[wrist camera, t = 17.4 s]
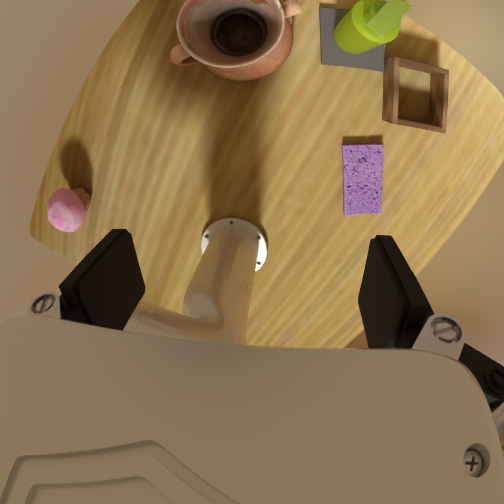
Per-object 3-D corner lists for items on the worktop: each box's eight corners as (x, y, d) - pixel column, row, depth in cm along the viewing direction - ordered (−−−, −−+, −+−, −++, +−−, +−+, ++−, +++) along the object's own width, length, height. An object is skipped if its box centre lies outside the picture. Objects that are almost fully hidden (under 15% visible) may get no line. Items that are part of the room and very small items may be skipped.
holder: (431, 128, 39) (445, 133, 35) (382, 119, 40) (392, 123, 36) (434, 70, 33) (448, 70, 29) (383, 58, 34) (394, 56, 30)
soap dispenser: (321, 42, 34) (348, 9, 17) (347, 14, 31) (387, -29, 14) (352, 65, 35) (400, 52, 18) (377, 37, 32) (435, 12, 15)
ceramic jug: (279, -12, 30) (276, -48, 18) (313, 63, 37) (325, 51, 25) (175, 28, 35) (134, 11, 23) (206, 100, 42) (175, 105, 30)
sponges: (380, 142, 43) (383, 144, 41) (379, 210, 49) (382, 215, 47) (340, 143, 44) (342, 145, 42) (342, 212, 50) (344, 217, 49)
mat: (382, 71, 36) (384, 71, 35) (321, 64, 37) (321, 63, 36) (380, 17, 30) (382, 16, 30) (319, 8, 32) (319, 7, 31)
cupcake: (63, 197, 54) (35, 217, 45) (79, 170, 50) (48, 187, 42) (89, 223, 57) (63, 247, 48) (106, 198, 53) (79, 220, 45)
